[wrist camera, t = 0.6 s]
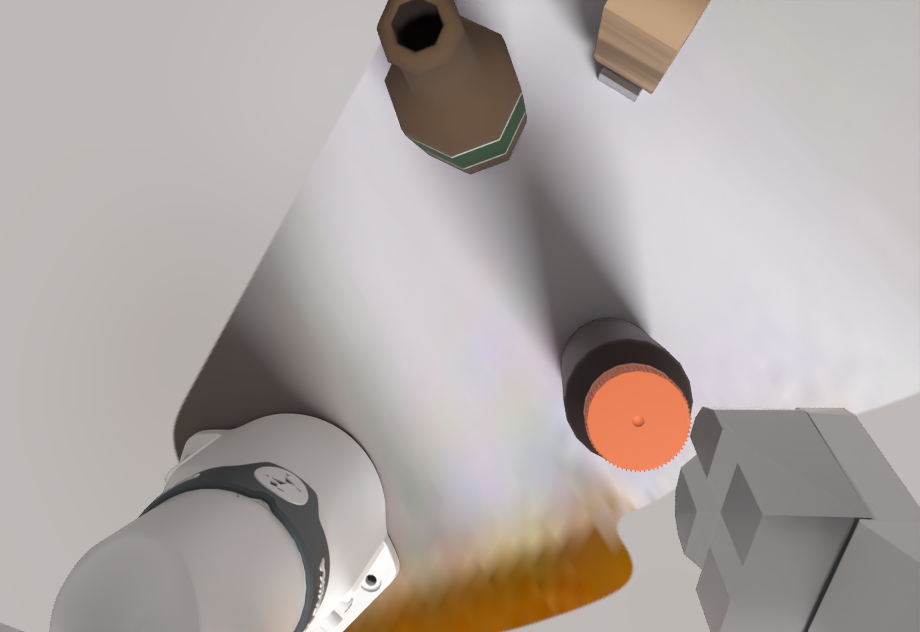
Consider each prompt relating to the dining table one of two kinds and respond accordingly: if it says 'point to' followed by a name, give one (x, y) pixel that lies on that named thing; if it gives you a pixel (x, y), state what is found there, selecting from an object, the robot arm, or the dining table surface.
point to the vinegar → (625, 395)
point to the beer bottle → (451, 84)
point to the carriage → (645, 36)
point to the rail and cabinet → (619, 83)
